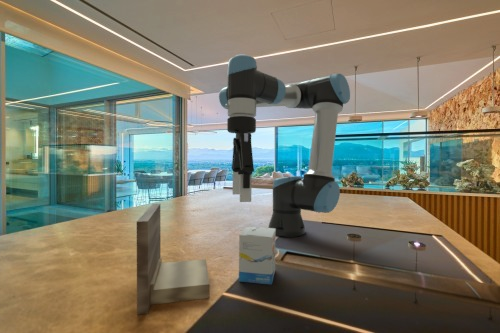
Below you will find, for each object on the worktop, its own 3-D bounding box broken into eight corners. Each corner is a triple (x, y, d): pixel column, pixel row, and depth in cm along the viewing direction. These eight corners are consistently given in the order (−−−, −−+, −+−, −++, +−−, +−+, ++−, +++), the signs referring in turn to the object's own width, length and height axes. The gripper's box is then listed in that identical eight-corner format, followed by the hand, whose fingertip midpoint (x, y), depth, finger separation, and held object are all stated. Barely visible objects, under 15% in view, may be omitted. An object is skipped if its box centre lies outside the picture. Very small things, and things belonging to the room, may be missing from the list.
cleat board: (205, 265, 71) (205, 202, 70) (210, 305, 51) (210, 218, 51) (152, 270, 68) (152, 203, 67) (137, 314, 48) (136, 221, 48)
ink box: (272, 285, 60) (272, 236, 60) (238, 281, 62) (238, 234, 61) (275, 270, 68) (276, 227, 68) (245, 267, 70) (245, 225, 70)
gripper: (223, 123, 78) (222, 192, 78) (233, 106, 53) (232, 206, 54) (247, 124, 79) (246, 191, 80) (267, 108, 55) (266, 205, 55)
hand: (240, 197), depth 67 cm, fingers open, 13 cm apart
